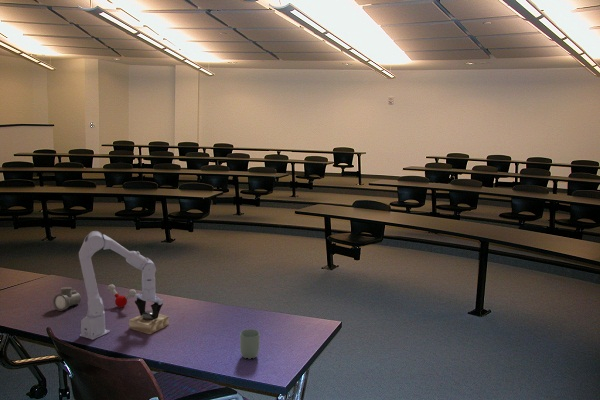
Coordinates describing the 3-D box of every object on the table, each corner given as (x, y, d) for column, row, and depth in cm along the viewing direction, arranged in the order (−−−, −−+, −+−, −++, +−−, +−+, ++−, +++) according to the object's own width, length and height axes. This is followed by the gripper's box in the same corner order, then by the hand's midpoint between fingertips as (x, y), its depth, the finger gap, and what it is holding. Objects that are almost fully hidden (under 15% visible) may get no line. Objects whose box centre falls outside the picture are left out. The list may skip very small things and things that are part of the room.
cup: (259, 352, 215) (260, 329, 213) (258, 361, 207) (259, 337, 205) (240, 352, 215) (240, 328, 213) (238, 361, 207) (239, 337, 205)
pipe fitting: (65, 311, 249) (65, 290, 249) (52, 310, 252) (52, 289, 252) (84, 306, 260) (84, 285, 260) (71, 305, 263) (71, 284, 263)
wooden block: (150, 334, 229) (149, 325, 228) (129, 328, 234) (129, 319, 233) (168, 324, 239) (168, 316, 238) (148, 319, 244) (148, 311, 244)
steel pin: (149, 329, 233) (149, 316, 232) (140, 326, 235) (139, 313, 234) (157, 324, 238) (157, 312, 237) (148, 322, 240) (148, 309, 239)
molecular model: (138, 308, 257) (138, 288, 255) (130, 312, 252) (129, 292, 250) (112, 301, 265) (112, 282, 263) (103, 305, 260) (103, 285, 259)
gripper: (167, 287, 234) (167, 317, 236) (142, 282, 240) (143, 310, 242) (156, 292, 228) (156, 322, 230) (131, 286, 234) (131, 315, 236)
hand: (149, 316), depth 236 cm, fingers open, 7 cm apart
